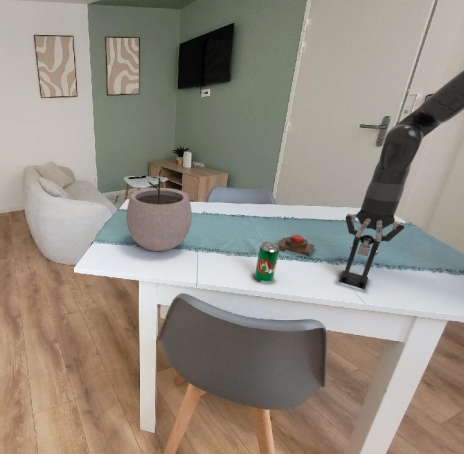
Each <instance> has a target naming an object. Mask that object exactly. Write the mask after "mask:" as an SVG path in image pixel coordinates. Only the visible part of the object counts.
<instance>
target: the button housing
mask: <svg viewBox="0 0 464 454" xmlns="http://www.w3.org/2000/svg"><path fill="white" fill-rule="evenodd" d="M291 237H292V235H291V236H287V237H282V239H281V240H280V241H279V242H278V243H276V244H277V245H278V246H279V247H278V248H279V251H281V252H286V251H287V252H292V253H295V254H299V255H303V256H305V257H309V256H310V255H311V253H312V251H313V250H314V248H315V244H312V243H309V242H308V240H307V239H306V238H304V239H303V242H302V243H296V242H293V241H291Z"/></svg>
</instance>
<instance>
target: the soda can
mask: <svg viewBox="0 0 464 454" xmlns="http://www.w3.org/2000/svg"><path fill="white" fill-rule="evenodd" d="M277 244H278V243H276V242H272V241H264V242H262V243H261V244H260V246H259V250H258V255H257V261H256V266H255V272H254V279H255V280H257V281H258V282H261V281H262V282H272V281H274V276H275V272H276V268H277V264H278V259H279V255H280V250H279V248H278V247H279V246H278V245H277Z"/></svg>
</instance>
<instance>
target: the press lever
mask: <svg viewBox="0 0 464 454" xmlns="http://www.w3.org/2000/svg"><path fill="white" fill-rule="evenodd" d="M374 239H375V238H374V236H372V235H371V234H362V235H361V238H360V241H359V242H360V243H359V246H358V249H357V251H356V254H357V255H360V256H364V257H368V256H369V253H370V251H371V246H372V245H373V242H374Z"/></svg>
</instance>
